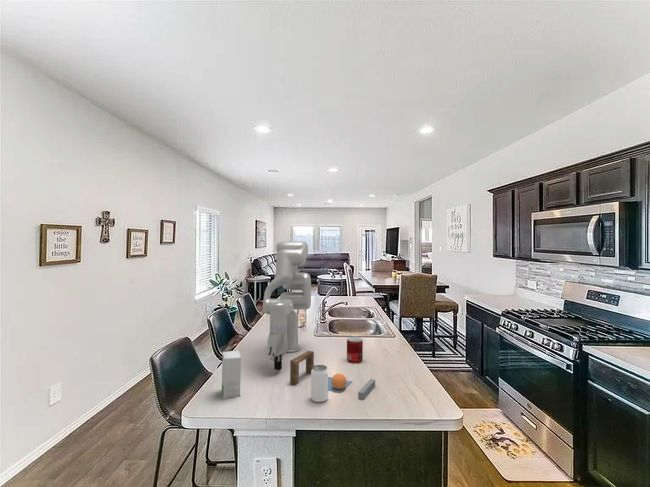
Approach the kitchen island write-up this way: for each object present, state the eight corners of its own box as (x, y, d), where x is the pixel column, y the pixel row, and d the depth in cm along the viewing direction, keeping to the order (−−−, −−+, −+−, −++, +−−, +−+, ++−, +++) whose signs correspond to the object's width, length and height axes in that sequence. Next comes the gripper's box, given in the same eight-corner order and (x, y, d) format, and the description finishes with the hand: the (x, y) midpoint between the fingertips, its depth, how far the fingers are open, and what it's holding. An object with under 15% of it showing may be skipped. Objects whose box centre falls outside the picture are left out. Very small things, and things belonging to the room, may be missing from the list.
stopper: (358, 398, 130) (358, 392, 130) (370, 384, 143) (370, 378, 143) (363, 399, 130) (363, 393, 130) (375, 385, 142) (375, 379, 142)
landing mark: (313, 387, 141) (313, 386, 141) (326, 376, 151) (326, 376, 151) (340, 393, 135) (340, 392, 135) (351, 382, 146) (351, 381, 146)
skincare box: (221, 390, 137) (221, 351, 137) (238, 387, 140) (238, 349, 140) (223, 399, 130) (223, 358, 129) (241, 396, 132) (241, 356, 132)
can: (310, 395, 133) (310, 364, 133) (327, 394, 134) (327, 364, 134) (311, 403, 127) (311, 370, 127) (328, 402, 127) (328, 370, 127)
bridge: (290, 383, 144) (290, 360, 144) (308, 371, 157) (308, 350, 157) (296, 384, 143) (296, 361, 143) (313, 372, 156) (313, 351, 156)
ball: (339, 393, 135) (327, 386, 138) (346, 389, 141) (334, 382, 144) (344, 379, 135) (331, 372, 138) (350, 375, 140) (338, 369, 143)
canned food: (361, 363, 168) (361, 341, 167) (345, 362, 169) (345, 340, 169) (363, 358, 175) (363, 337, 175) (347, 357, 177) (347, 336, 177)
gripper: (280, 324, 164) (280, 362, 164) (261, 332, 151) (261, 373, 151) (293, 326, 161) (293, 365, 161) (275, 334, 147) (275, 376, 148)
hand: (278, 369), depth 156 cm, fingers closed
